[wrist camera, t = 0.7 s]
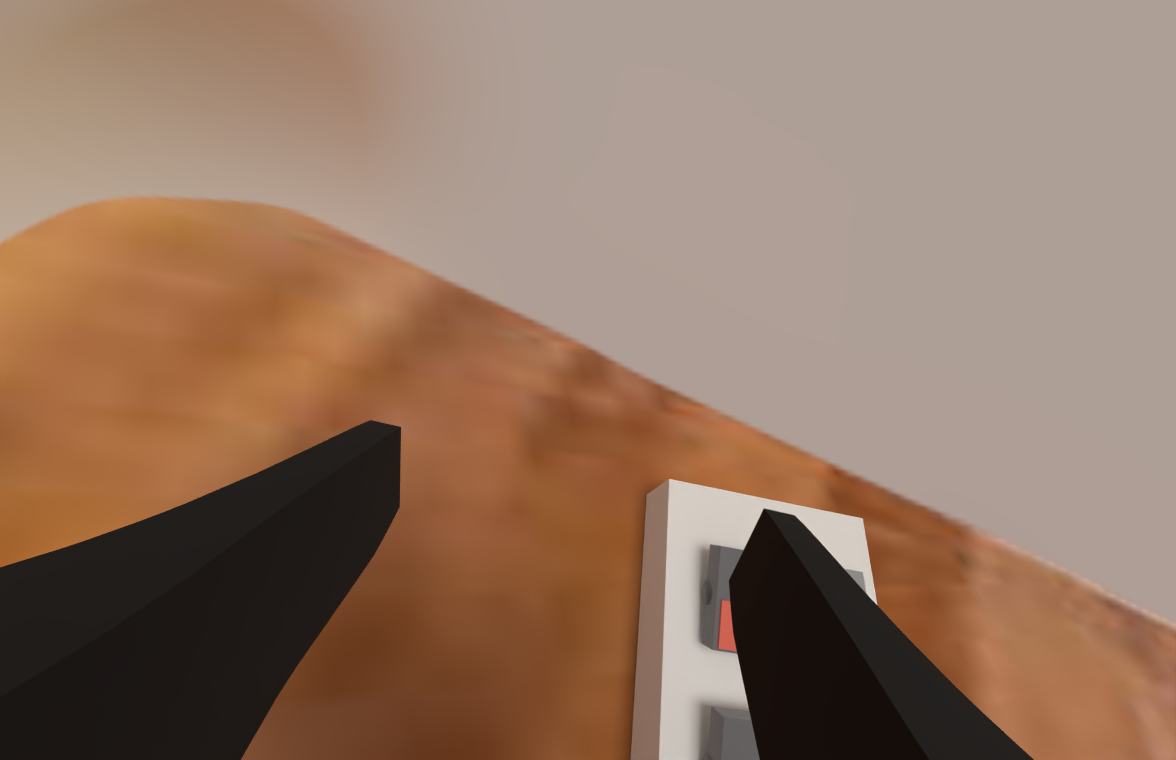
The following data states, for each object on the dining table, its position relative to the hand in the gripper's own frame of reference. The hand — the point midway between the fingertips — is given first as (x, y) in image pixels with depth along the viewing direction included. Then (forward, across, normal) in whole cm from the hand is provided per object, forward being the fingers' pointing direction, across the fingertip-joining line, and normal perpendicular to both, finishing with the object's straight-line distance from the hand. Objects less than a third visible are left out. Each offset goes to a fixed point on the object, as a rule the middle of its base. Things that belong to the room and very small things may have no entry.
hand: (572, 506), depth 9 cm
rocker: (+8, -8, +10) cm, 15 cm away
